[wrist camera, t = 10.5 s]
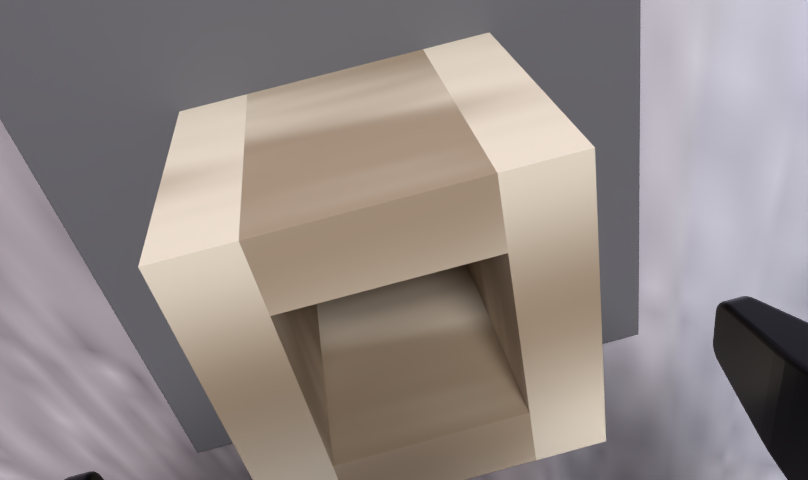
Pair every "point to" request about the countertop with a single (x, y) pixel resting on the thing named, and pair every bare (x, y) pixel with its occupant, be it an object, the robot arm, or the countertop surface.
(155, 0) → the dark gray flat plate
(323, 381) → the ash wood collar block
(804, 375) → the robot arm
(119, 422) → the countertop surface
